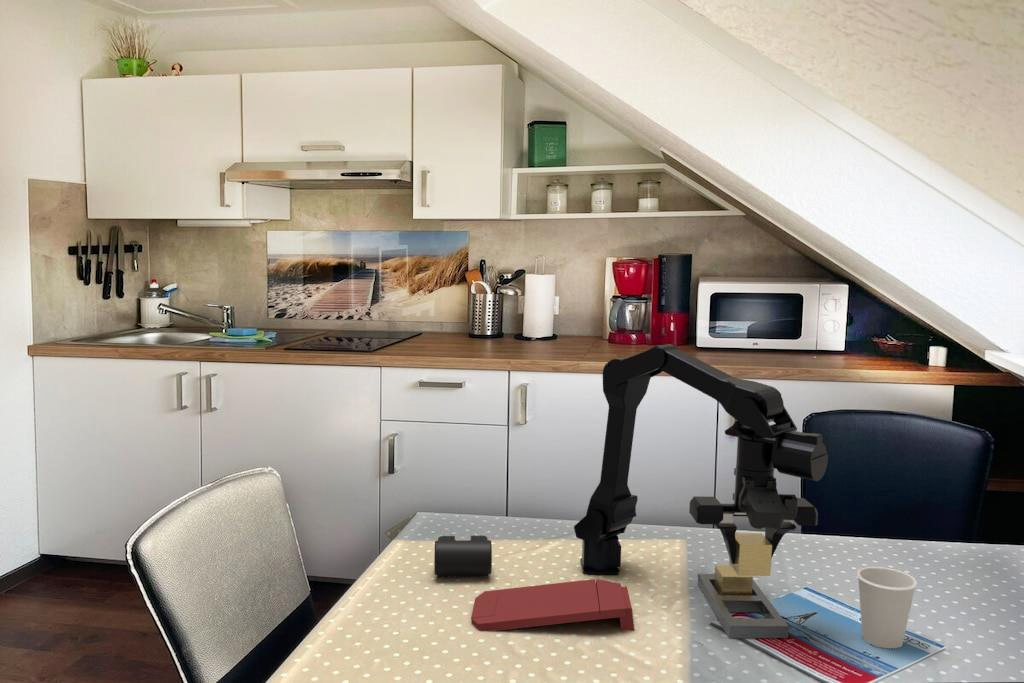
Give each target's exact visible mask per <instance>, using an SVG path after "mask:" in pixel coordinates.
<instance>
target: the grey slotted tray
mask: <svg viewBox="0 0 1024 683" xmlns="http://www.w3.org/2000/svg"><path fill="white" fill-rule="evenodd" d="M714 575H715V573H697V586H698V588H699V587H700V588H699V590H700V591H701V592H702V594H704V595H703V596H704V598H705V599H706V601H707V603H708V605H709V607H710V606H711V607H710V608H711V610H712V611H713V613H714V615H715V616H716V619H717V620H718V622H719V624H720V626H721V627H722V629H723V630H724V632H725V634H726V635H727V638H728V639H756V638H757V640H759V639H760V638H764V639H765V638H789V625H788V623H787V622H786V621H785V620H784V618H783V617H782V616H781V614H780V612H778V611H777V609H776V608H775V607H774V605H773V604H772V602H771V601H770V600H769V598H768V597H767V596H766V595H765V593H764V591H763V590H762V589H761V588H760V587H759V585H758V584H757V583H756V581H755V579H753V583H752V596H743V595H718V593H717V592H716V590H715V589H714ZM754 612H755V613H756V612H757V613H758V612H759V613H760V612H761V614H762V616H763V618H737V617H736V618H735V617H734V618H733V615H732V614H731V613H754ZM759 613H758V614H759ZM758 638H759V639H758Z"/></svg>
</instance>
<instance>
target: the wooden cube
mask: <svg viewBox="0 0 1024 683" xmlns="http://www.w3.org/2000/svg"><path fill="white" fill-rule="evenodd" d="M735 544H736V559H735V564H732V563H731V561H730V558H729V562H728V563H729V564H728V565H731V566H732V568H733V569H734V570H735V572H736V573H737V575H738V576H752V577H754V576H755V577H771V569H772V559H771V556H772V544H771V543H770V542H769V541H768V540H767V539H766V538H765V534H763V533H752V532H751V533H750V532H749V533H746V532H745V533H743V532H742V533H741V532H739V533H737V532H736V533H735Z"/></svg>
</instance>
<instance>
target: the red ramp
mask: <svg viewBox="0 0 1024 683" xmlns="http://www.w3.org/2000/svg"><path fill="white" fill-rule="evenodd" d="M631 603H632V601H631V599H630V593H629V588H628V586H626V585H625V586H622V583H620V582H615V581H614V582H613V581H610V580H605V579H604V580H603V579H599V578H594V579H593V578H592V579H591V578H590V579H585V580H584V579H583V580H576V581H575V580H574V581H573V580H572V581H566V582H556V583H548V584H538V585H537V584H536V585H530V586H529V585H528V586H518V587H511V588H510V587H509V588H503V589H493V590H485V591H483V592H481V593H480V594H479V595H478V596H476V597H474V603H473V607H472V611H471V616H470V621H471V624H472V626H474V627H475V628H476V629H477V630H478V631H480V632H494V631H505V630H512V629H522V628H532V627H539V626H550V625H551V626H552V625H558V624H566V623H567V624H568V623H577V622H587V621H596V620H604V619H607V620H608V619H615V618H618V619H619V623H620V624H619V625H620V629H621V630H620V631H628V630H630V631H633V632H634V630H635V624H634V623H635V622H634V615H633V607H632V604H631ZM630 631H629V632H630Z"/></svg>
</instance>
